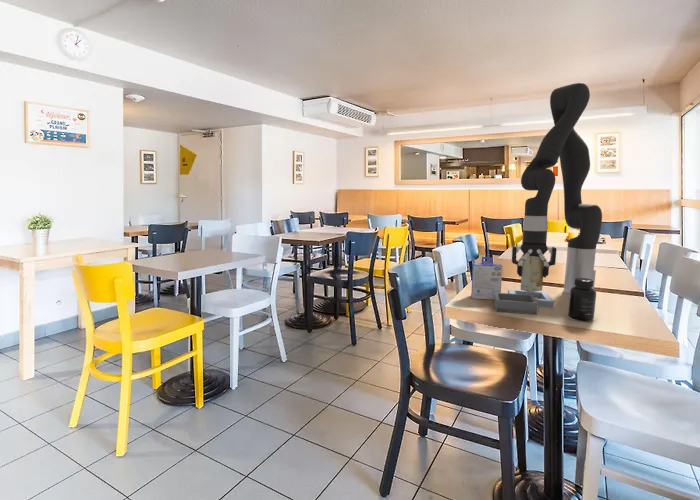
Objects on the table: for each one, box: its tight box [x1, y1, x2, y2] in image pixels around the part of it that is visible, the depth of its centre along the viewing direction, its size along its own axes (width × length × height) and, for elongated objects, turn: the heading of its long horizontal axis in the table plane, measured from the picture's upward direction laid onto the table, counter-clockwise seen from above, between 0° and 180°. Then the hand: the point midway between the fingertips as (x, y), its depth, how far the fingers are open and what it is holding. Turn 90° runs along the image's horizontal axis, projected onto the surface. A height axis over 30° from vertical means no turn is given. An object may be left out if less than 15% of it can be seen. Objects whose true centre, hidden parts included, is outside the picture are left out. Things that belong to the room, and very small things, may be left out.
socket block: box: [507, 288, 555, 308], centre depth 143 cm, size 13×14×2 cm
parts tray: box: [493, 292, 539, 315], centre depth 133 cm, size 12×11×4 cm
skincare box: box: [520, 255, 546, 292], centre depth 142 cm, size 6×4×12 cm
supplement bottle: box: [567, 278, 597, 322], centre depth 122 cm, size 7×7×12 cm
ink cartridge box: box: [470, 256, 503, 301], centre depth 145 cm, size 10×6×14 cm, turn 79°
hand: (532, 276), depth 142 cm, fingers closed on skincare box, 7 cm apart
